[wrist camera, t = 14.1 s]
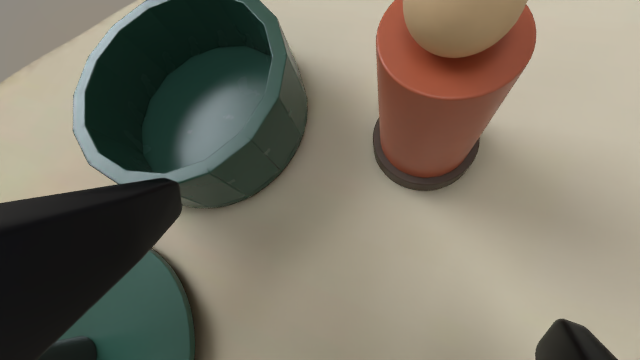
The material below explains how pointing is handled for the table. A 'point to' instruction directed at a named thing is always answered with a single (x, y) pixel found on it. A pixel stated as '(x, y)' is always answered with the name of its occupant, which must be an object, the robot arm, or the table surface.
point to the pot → (192, 99)
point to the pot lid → (134, 320)
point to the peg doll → (444, 82)
